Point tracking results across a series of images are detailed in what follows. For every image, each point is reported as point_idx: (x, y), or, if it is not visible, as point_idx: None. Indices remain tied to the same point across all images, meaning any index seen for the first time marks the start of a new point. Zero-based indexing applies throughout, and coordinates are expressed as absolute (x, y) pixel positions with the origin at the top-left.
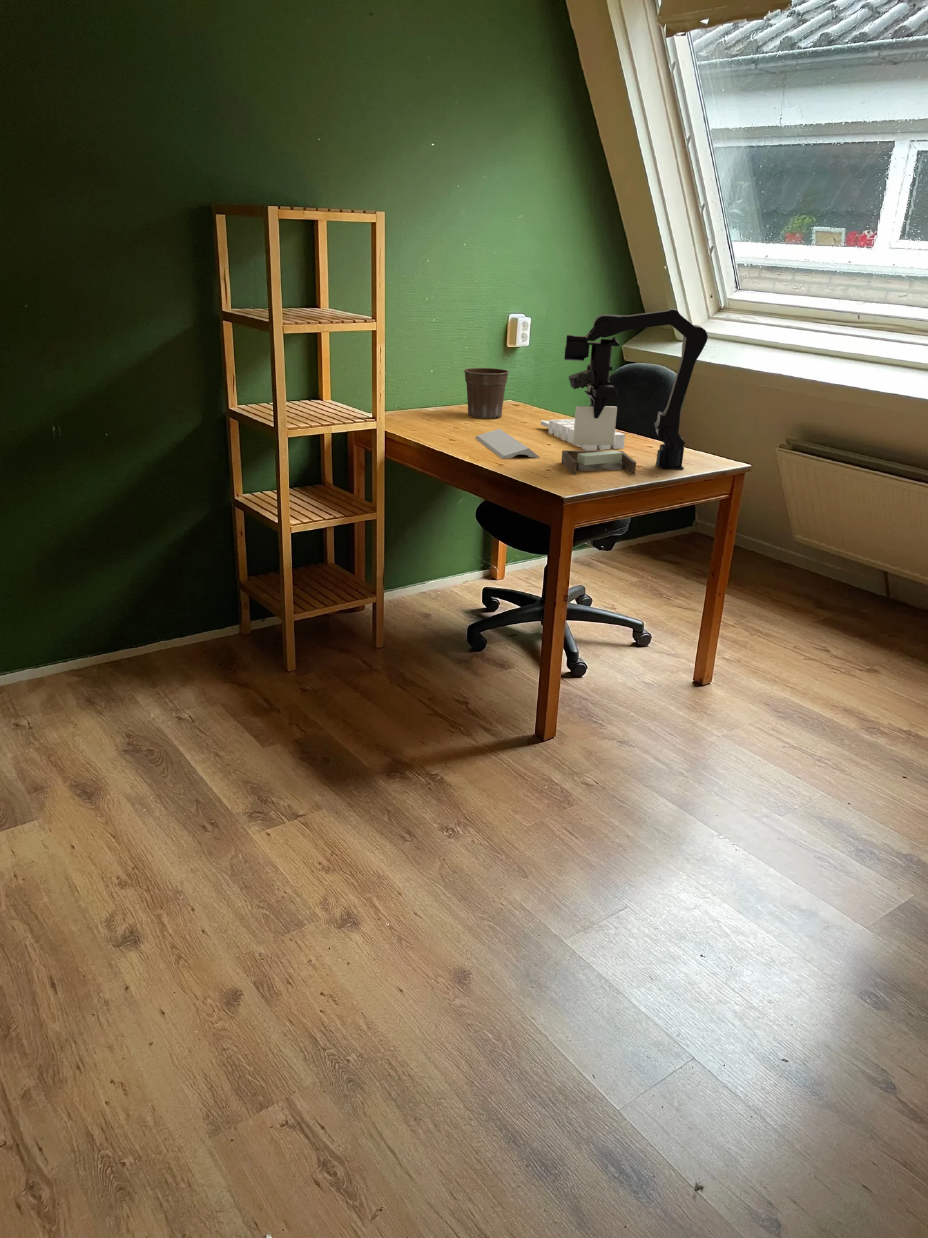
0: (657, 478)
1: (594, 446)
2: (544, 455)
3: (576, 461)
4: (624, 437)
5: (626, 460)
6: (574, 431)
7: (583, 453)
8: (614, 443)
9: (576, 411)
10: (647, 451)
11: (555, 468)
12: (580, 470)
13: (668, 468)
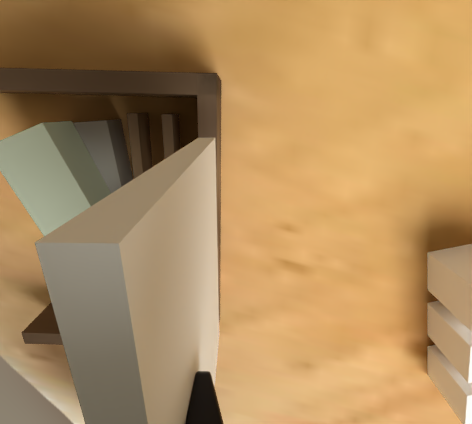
0: (21, 354)
1: (437, 288)
2: (372, 22)
3: (93, 123)
4: (455, 412)
5: None
6: (183, 148)
7: (54, 157)
8: (441, 363)
9: (101, 204)
10: (370, 420)
11: (93, 14)
12: None
13: None
